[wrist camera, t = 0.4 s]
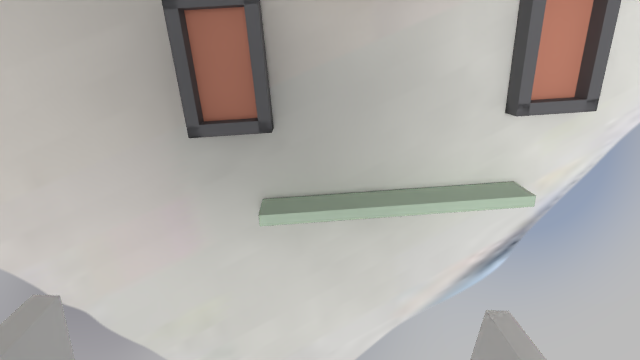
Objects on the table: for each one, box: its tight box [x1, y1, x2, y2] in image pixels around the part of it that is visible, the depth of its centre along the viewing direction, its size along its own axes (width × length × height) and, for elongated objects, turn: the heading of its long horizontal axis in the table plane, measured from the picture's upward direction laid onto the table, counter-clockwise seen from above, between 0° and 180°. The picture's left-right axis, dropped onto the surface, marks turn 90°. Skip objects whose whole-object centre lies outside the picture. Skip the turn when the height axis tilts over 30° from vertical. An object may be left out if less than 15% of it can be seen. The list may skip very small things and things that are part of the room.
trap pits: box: [162, 0, 621, 138], centre depth 33 cm, size 12×40×2 cm, turn 93°
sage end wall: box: [258, 182, 536, 226], centre depth 37 cm, size 1×28×4 cm, turn 93°
